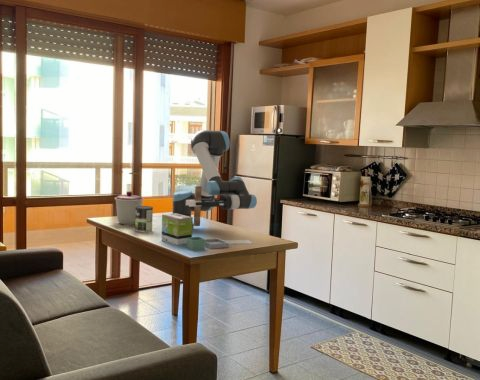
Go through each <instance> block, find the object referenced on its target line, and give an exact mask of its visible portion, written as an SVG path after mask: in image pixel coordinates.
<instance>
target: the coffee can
mask: <svg viewBox="0 0 480 380" xmlns="http://www.w3.org/2000/svg"><path fill="white" fill-rule="evenodd" d="M135 208H136V216H135V224H134V225H135V226H134V231H135V232H139V233H147V232H148V233H149V232H152V231H153V213H154V212H153V211H154V207H153V206H148V205H142V206H137V207H135Z"/></svg>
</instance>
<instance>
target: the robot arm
mask: <svg viewBox="0 0 480 380" xmlns="http://www.w3.org/2000/svg"><path fill="white" fill-rule="evenodd" d="M190 140H191V141H190V147H191V151H192V153H193V155H195V156H196V159H197V160H198V162H199V166H200V167H201V169H202V171H201V172H202V173H201V175H200V176H201V177H200V180H199V185H198V186H202V189H201V201H195V192H192V190H188V189H187V190H179V191H175V192H174V193H173V195H172V214H174V213H177V214H181V215H185V216H189V217H192V212H194V206H201V212H207V211H209V212H210V211H212V210H213V209H214V208H215V207H216V208H217V207H218V208H219V207H220V208H221V209H222V210H233V211H235V210H239V209H240V210H244V209H245V210H246V209H247V210H250V209H255V207H256V206H257V203H258V199H257V197H256V195H254V194H250V192H249V191H248V189H247V186H246V183H245V181H244V180H243V178H242V177H240V176H235V177H232V178H231V179H230V180H223V179H222V177H221V174H220V172H219V169H218V168H219V163H220V159H221V157H222V156H224V154H225V152H227V151H228V150H229V149H230V145H231V144H230V142H231V141H230V137H229V134H228V133H227V132H226V131H224V130H223V131H222V130H207V129H201V130H198V131H197V132H195V133H194V134H193V136H192V137H191V139H190ZM216 196H220V197H219V198H218V197H216ZM194 228H195V226H194V223H193V224H192V230H194Z"/></svg>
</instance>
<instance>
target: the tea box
mask: <svg viewBox="0 0 480 380" xmlns="http://www.w3.org/2000/svg"><path fill="white" fill-rule="evenodd" d="M192 224H194V216H193V217H192V216H191V217H189V216H185V215H181V214H177V213H174V214H173V213H166V214H162V215H161V241H162V242H167V243H169V244H173V245H175V246H180V245H185V244H186V245H187V238H189V237H193V229H192Z"/></svg>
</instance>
